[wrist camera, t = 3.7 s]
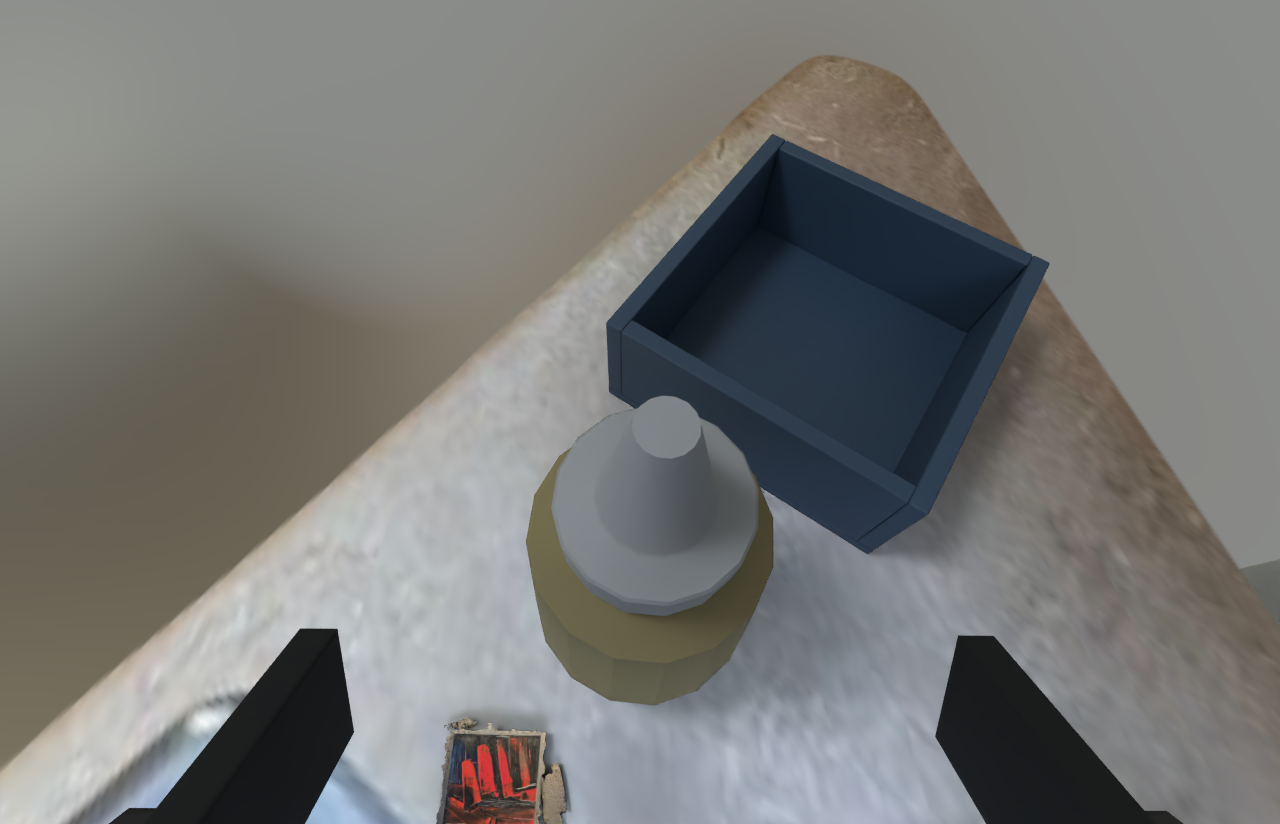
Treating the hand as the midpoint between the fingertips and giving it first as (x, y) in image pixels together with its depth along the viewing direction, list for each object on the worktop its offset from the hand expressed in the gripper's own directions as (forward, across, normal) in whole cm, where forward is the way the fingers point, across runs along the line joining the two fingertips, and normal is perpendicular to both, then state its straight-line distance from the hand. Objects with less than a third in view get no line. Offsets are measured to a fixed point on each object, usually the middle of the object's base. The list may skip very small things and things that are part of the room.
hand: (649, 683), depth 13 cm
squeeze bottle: (+12, 0, -7) cm, 14 cm away
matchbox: (+7, -5, -12) cm, 14 cm away
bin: (+20, +9, +2) cm, 22 cm away
